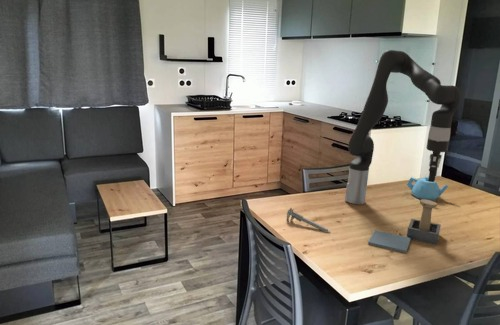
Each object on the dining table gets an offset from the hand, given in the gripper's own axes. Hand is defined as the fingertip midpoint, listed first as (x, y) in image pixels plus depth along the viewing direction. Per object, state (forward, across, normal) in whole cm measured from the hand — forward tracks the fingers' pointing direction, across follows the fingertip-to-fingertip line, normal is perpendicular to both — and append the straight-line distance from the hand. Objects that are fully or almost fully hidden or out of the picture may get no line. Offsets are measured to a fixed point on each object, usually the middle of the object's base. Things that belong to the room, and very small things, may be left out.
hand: (432, 178), depth 160 cm
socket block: (+25, 0, 0) cm, 25 cm away
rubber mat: (+25, +13, -11) cm, 30 cm away
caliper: (+25, +16, -44) cm, 53 cm away
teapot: (+25, -55, -4) cm, 61 cm away
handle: (+25, 0, 0) cm, 25 cm away
